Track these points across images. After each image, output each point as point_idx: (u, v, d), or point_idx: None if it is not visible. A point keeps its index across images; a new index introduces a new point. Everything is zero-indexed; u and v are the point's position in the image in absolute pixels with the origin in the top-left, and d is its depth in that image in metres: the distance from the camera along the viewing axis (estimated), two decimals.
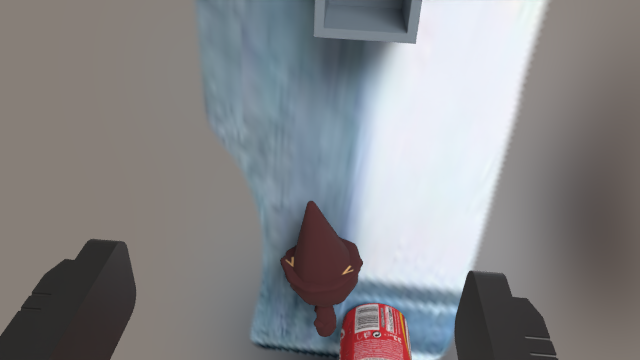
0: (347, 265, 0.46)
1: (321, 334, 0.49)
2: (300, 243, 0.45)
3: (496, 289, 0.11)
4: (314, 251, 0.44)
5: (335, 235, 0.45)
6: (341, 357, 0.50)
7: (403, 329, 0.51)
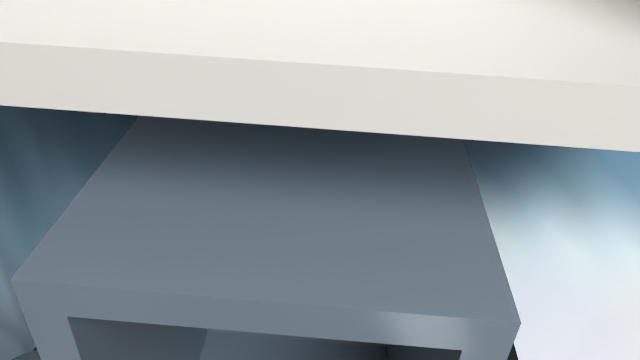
0: None
1: None
2: None
3: None
4: None
5: None
6: None
7: None
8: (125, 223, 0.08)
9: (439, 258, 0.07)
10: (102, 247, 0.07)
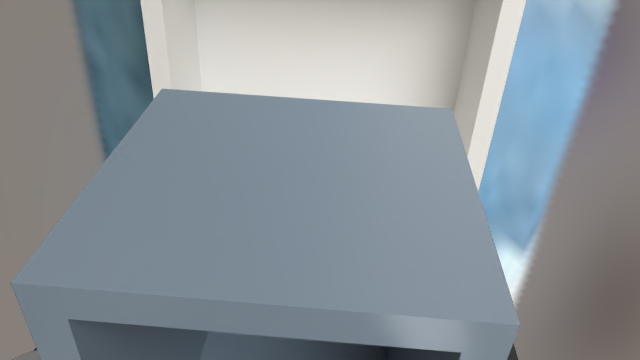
0: None
1: None
2: None
3: None
4: None
5: None
6: None
7: None
8: (126, 226, 0.08)
9: (439, 261, 0.07)
10: (103, 249, 0.07)
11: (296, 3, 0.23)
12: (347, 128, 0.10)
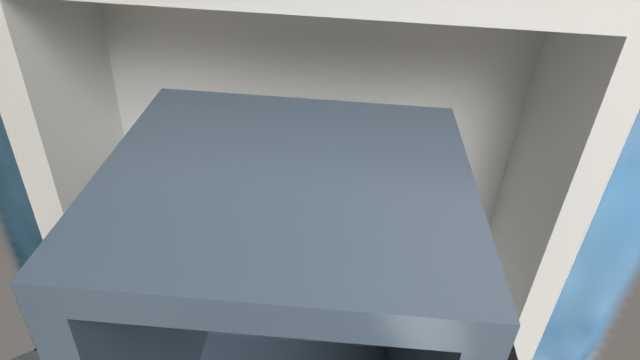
0: None
1: None
2: None
3: None
4: None
5: None
6: None
7: None
8: (125, 225, 0.08)
9: (439, 260, 0.07)
10: (103, 249, 0.07)
11: (262, 84, 0.16)
12: (347, 128, 0.10)
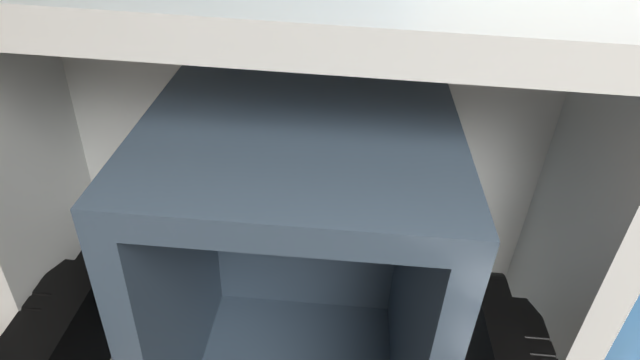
0: None
1: None
2: None
3: (496, 289, 0.11)
4: None
5: None
6: None
7: None
8: (162, 168, 0.09)
9: (432, 195, 0.09)
10: (145, 186, 0.08)
11: None
12: (352, 94, 0.12)
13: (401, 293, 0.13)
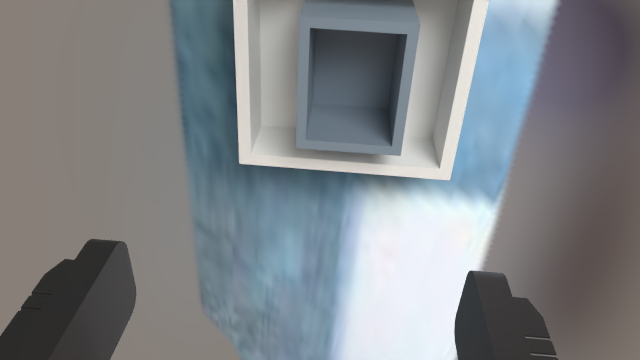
0: None
1: None
2: None
3: (496, 289, 0.11)
4: None
5: None
6: None
7: None
8: (319, 10, 0.29)
9: (402, 17, 0.28)
10: (316, 13, 0.28)
11: None
12: None
13: (394, 84, 0.33)
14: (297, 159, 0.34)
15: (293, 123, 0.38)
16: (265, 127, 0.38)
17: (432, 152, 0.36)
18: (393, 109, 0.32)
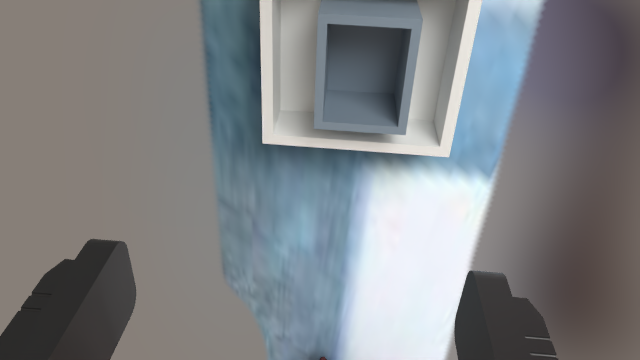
0: None
1: None
2: None
3: (496, 289, 0.11)
4: None
5: None
6: None
7: None
8: (335, 8, 0.33)
9: (407, 13, 0.33)
10: (333, 10, 0.33)
11: None
12: None
13: (399, 72, 0.38)
14: (313, 139, 0.39)
15: (309, 107, 0.42)
16: (284, 111, 0.42)
17: (433, 133, 0.40)
18: (399, 94, 0.37)
